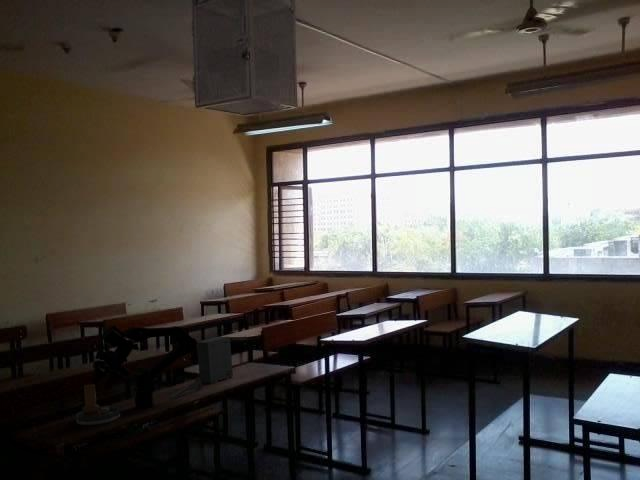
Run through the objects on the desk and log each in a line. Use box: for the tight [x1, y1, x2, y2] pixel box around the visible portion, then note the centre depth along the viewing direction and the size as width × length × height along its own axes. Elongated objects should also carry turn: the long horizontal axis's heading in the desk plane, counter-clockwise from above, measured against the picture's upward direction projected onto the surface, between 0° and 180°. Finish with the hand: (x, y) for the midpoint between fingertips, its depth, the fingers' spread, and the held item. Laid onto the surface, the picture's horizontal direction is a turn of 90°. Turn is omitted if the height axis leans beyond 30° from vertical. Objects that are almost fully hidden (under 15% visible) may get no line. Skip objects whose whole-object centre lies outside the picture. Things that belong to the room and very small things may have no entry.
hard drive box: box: [196, 336, 234, 385], centre depth 295 cm, size 16×8×20 cm, turn 143°
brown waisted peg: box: [82, 383, 100, 415], centre depth 235 cm, size 6×6×12 cm
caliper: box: [167, 376, 202, 401], centre depth 268 cm, size 20×1×6 cm, turn 150°
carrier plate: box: [75, 405, 121, 426], centre depth 237 cm, size 16×16×3 cm
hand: (98, 387), depth 238 cm, fingers open, 9 cm apart
